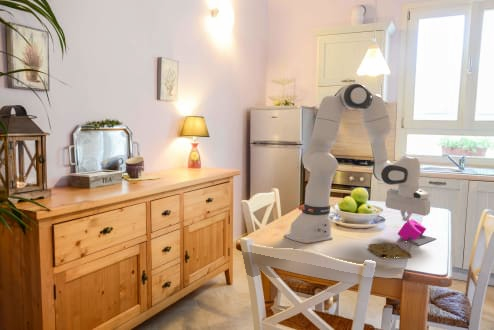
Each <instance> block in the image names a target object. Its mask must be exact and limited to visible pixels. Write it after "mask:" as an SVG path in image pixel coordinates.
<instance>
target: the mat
mask: <svg viewBox="0 0 494 330" xmlns="http://www.w3.org/2000/svg"><path fill="white" fill-rule="evenodd" d="M436 240H437V238H435V237H432V236H428V235H423V234H422V235H419V237H418V238H417V239H416V240H414V239H413V238H412V237H409V238H408V239H407V240H405V239H402V240H401V242H403V241H407V242H409V243H408V244H410V243H411V245H414V246H416V247H417V246H418V247H420V246H423V245H426V244H428V243H430V242H433V241H436Z"/></svg>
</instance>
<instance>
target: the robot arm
mask: <svg viewBox="0 0 494 330" xmlns="http://www.w3.org/2000/svg"><path fill="white" fill-rule="evenodd" d="M346 110H358V111H359V112H360V113H361V115H362V119H363V124H364V128H365V130H366V133H367V135H368V139H369V141H370V146H371V151H372V155H373V166H372V173H373V176H374V178H375V179H376V180H377V181H379V182H383V183H384V184H387V185H398V186H397V189H394V188H389V189H388V190H386V197H385V198H386V199H385V207H386V208H387V209H392V210H397V211H400V215H401V216H402V221H403V222H408V221H410V218H411V217H412V216H413V214H415V215H418V216H419V215H420V216H424V217H426V216H429V214H430V213H431V201H430V199H429V198H430V193H429V192H427V191H425V190H423V189H421V188H420V183H419V182H420V181H419V180H420V177H421V163H420V160H419V159H418V158H416V157H412V156H407V155H404V156H402V157H400V158H399V159H397V160H393V161H390V160H389V158H388V152H387V147H386V138H387V137H388V135H389V134H390V132H391V130H392V129H391V126H392V125H391V118H390V115H389V111H388V108H387V105H386V103H385V101H384V99H383V97H382V96H381V95H380V94H378V93H371V91H370V90H369V89H368V88H367V87H366V86H365V85H363V84H361V83H350V84H347V85H344V86H342V87H340V88H339V89H338V90H337V92H336V93H335V94H334V95H326V96H324V97H323V98H322V99H321V101H320V104H319V107H318V109H317V112H316V118H315V121H314V125H313V126H314V127H313V130H312V134H311V137H310V140H309V143H308V146H307V148H306V150H305V152H304V154H303V155H302V159H301V160H302V165H303V166H304V169H306V170H307V171H308V172H309V177H308V180H307V181H308V182H307V184H306V186H305V195H304V204H303V205H299V206H297V207H298V210H299V211H301V213H300V214H299V215H298V216H296V218H295V219H294V220H293V221H292V222H291V225H290V228H289V229H290V231H287V232H286V233H284V237H285V238H288V239H290V240H292V241H295V242H299V243H304V244H310V243H315V242H316V243H317V242H322V241H328V240H333V235H332V227H331V226H332V223H331V218H330V213H331V205H330V198H331V188H332V183H333V180H334V175H335V174H336V173H337V170H338V169H339V168H338V167H339V161H338V160H337V159H336V157H335V156H334V155H333V154H331V153H330V152H331V150H332V149H333V146H334V144H335V143H336V142H337V139H338V136H339V135H338V134H339V133H340V132H339V131H340V126H341V121H342V116H343V114H344V112H345V111H346ZM406 214H407V216H406Z"/></svg>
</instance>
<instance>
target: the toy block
mask: <svg viewBox="0 0 494 330" xmlns="http://www.w3.org/2000/svg"><path fill="white" fill-rule="evenodd" d="M426 231H427V227H426V226H424V225H422V224H421V223H419V222H418V221H416V220H415V219H409V221H408V222H407V221H405V222H404V224H403V225H402V227H401V228H400V230H398V232H397V235H398V236H399V237H401V238H402V240H407V239H408V238H410V237H412V238H413V239H414V240H416V239H417V238H418V237H419V235H423V234H424V233H425V232H426Z"/></svg>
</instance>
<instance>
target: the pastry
mask: <svg viewBox="0 0 494 330" xmlns="http://www.w3.org/2000/svg"><path fill="white" fill-rule="evenodd" d="M367 247H368V248H369V250H370V251H371V252H372V253H373V252H374V253H373V254H375V255H376V256H377V255H378V256H379V258H380V257H385V258H391V259H397V258H396V257H408V258H407V259H411V258H412V254H411V253H410V252H409V251H407V250H406V249H403V247H402V248H401V246H399V245H397V244H395V243H391V242H382V243H379V242H377V243H370V244H368V245H367ZM378 256H377V257H378ZM394 257H395V258H394ZM385 258H384V259H385Z"/></svg>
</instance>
